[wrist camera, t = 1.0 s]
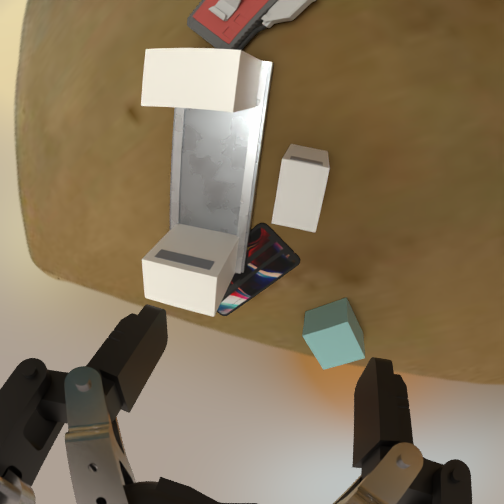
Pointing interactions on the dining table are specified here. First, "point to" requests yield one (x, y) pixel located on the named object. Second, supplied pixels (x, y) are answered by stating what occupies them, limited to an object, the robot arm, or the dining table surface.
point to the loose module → (301, 187)
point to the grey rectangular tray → (219, 167)
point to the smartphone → (259, 268)
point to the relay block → (334, 334)
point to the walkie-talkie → (240, 19)
